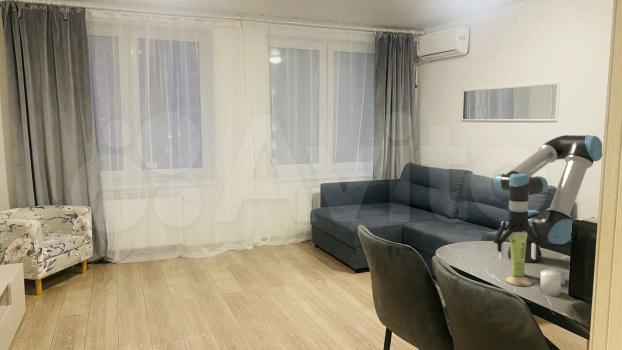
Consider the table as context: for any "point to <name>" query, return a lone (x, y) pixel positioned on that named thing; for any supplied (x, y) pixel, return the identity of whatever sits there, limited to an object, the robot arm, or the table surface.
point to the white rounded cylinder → (550, 282)
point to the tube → (518, 252)
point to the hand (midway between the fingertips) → (517, 258)
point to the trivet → (519, 281)
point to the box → (558, 271)
